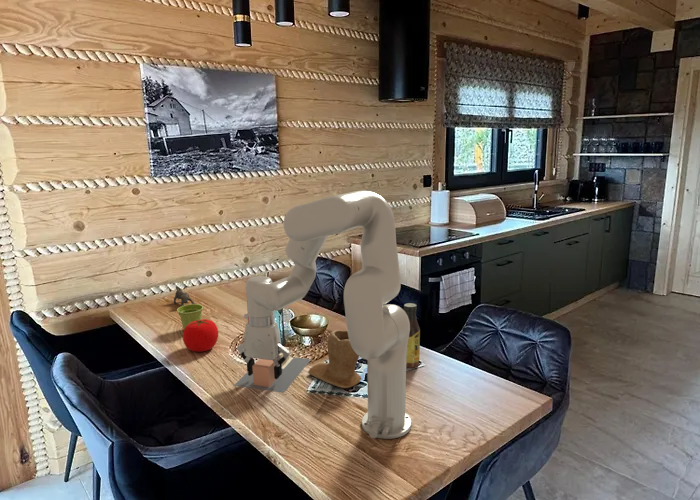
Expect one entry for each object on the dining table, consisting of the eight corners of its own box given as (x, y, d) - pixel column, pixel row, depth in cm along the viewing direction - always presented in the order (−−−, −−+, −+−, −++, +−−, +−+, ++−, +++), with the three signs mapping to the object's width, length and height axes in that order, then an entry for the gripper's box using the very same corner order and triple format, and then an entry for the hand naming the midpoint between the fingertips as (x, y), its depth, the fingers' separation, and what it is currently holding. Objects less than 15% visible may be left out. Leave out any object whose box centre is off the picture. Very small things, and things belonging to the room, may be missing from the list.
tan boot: (370, 379, 149) (370, 333, 146) (343, 395, 141) (343, 346, 137) (334, 364, 159) (333, 320, 156) (307, 378, 151) (305, 332, 147)
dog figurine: (171, 303, 220) (169, 287, 218) (184, 300, 224) (182, 284, 222) (183, 310, 211) (181, 293, 209) (195, 306, 215) (194, 290, 213)
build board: (284, 396, 141) (284, 392, 140) (233, 388, 145) (233, 385, 145) (311, 362, 161) (311, 359, 161) (266, 356, 166) (266, 353, 165)
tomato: (192, 359, 165) (189, 329, 162) (179, 348, 173) (176, 320, 171) (225, 349, 172) (223, 320, 170) (211, 338, 181) (209, 311, 178)
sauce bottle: (418, 369, 155) (419, 309, 150) (398, 368, 156) (399, 308, 152) (420, 360, 161) (421, 302, 157) (400, 358, 162) (401, 301, 158)
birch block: (282, 366, 156) (281, 355, 155) (264, 364, 158) (263, 353, 157) (289, 358, 161) (289, 347, 161) (272, 356, 163) (272, 345, 162)
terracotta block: (269, 386, 144) (268, 367, 142) (253, 384, 145) (252, 365, 144) (276, 378, 148) (275, 360, 147) (261, 376, 150) (260, 358, 148)
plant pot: (206, 332, 187) (204, 310, 185) (180, 336, 184) (177, 314, 182) (203, 323, 196) (201, 302, 194) (178, 327, 192) (176, 306, 190)
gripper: (227, 321, 141) (232, 377, 145) (284, 327, 136) (286, 385, 140) (240, 312, 148) (244, 366, 152) (294, 317, 143) (297, 373, 147)
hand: (264, 374), depth 146 cm, fingers open, 7 cm apart
